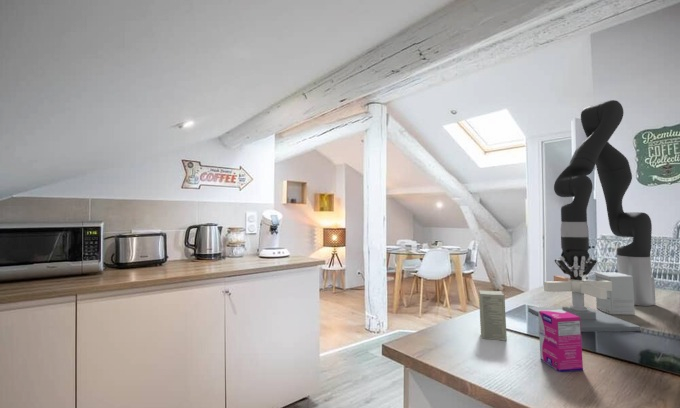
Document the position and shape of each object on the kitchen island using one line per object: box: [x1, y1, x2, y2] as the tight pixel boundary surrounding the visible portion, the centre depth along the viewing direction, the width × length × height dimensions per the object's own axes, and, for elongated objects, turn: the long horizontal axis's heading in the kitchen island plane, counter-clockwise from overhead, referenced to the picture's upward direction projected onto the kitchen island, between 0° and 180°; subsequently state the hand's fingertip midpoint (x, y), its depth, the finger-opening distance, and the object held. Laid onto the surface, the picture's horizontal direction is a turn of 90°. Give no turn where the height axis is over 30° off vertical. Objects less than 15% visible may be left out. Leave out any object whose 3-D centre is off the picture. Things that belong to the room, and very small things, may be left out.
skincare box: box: [478, 289, 508, 341], centre depth 88 cm, size 6×4×12 cm
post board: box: [527, 291, 642, 333], centre depth 101 cm, size 20×20×9 cm
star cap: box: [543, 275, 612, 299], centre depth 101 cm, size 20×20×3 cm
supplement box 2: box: [594, 271, 636, 316], centre depth 109 cm, size 7×7×13 cm
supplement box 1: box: [538, 309, 584, 373], centre depth 71 cm, size 6×6×12 cm
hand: (576, 287), depth 107 cm, fingers closed
